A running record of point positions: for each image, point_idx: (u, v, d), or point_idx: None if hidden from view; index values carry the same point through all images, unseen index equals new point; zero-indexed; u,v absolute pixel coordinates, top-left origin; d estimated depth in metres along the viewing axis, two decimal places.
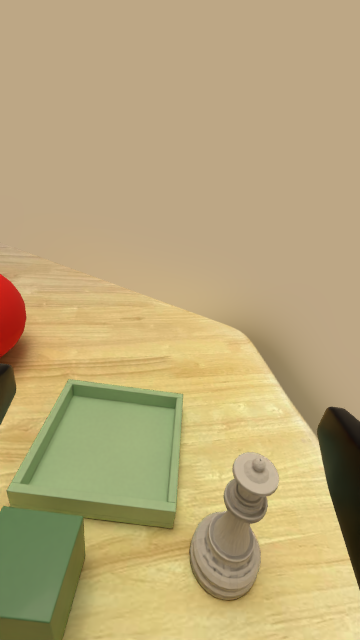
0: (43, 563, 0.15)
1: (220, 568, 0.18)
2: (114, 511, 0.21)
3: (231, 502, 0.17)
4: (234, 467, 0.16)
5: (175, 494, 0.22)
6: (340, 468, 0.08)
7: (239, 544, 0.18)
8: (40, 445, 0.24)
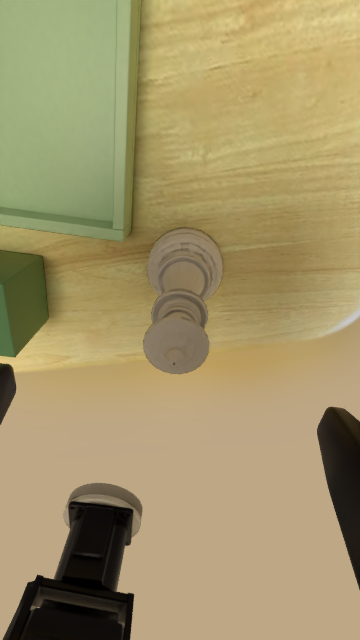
0: None
1: None
2: None
3: None
4: (144, 341, 0.11)
5: (122, 219, 0.16)
6: (340, 468, 0.08)
7: None
8: None
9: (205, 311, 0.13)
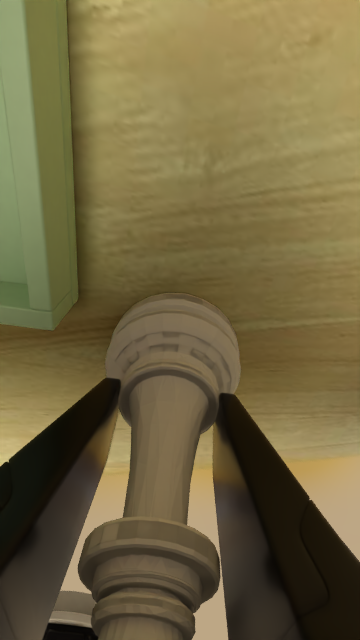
0: None
1: None
2: None
3: None
4: None
5: (46, 292, 0.08)
6: (218, 452, 0.08)
7: None
8: None
9: (214, 576, 0.05)
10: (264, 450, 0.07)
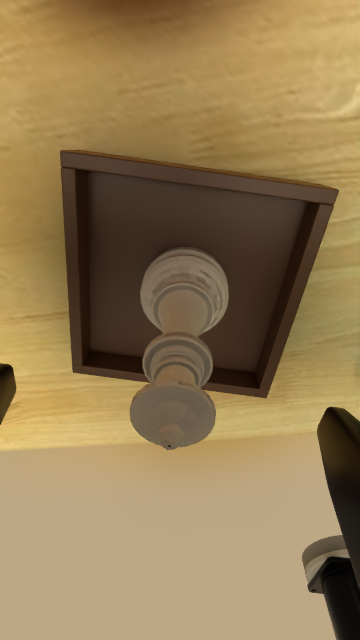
0: None
1: None
2: None
3: (150, 375, 0.10)
4: (131, 410, 0.08)
5: None
6: (340, 468, 0.08)
7: None
8: None
9: (209, 360, 0.10)
10: None
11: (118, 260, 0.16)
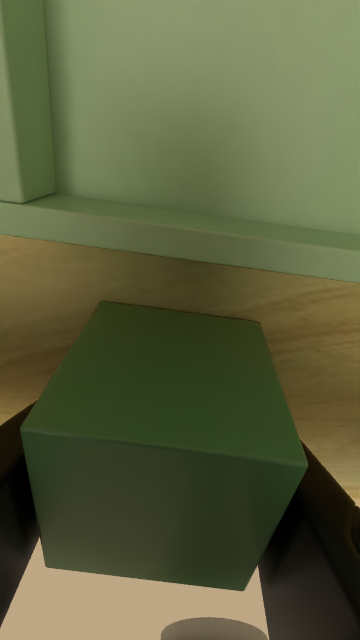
0: (207, 538, 0.06)
1: None
2: None
3: None
4: None
5: None
6: None
7: None
8: None
9: None
10: None
11: None
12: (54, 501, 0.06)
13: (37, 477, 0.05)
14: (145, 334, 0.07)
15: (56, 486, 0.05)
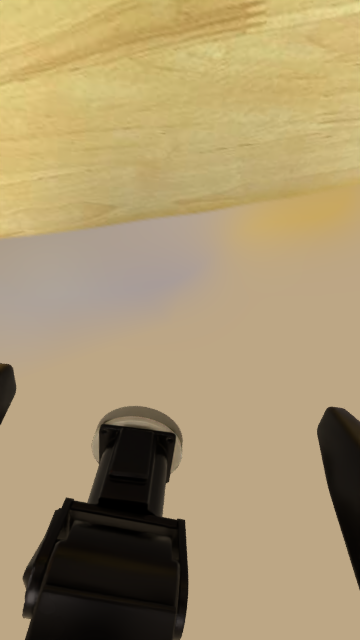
0: None
1: None
2: None
3: None
4: None
5: None
6: (340, 468, 0.08)
7: None
8: None
9: None
10: None
11: None
12: None
13: None
14: None
15: None
